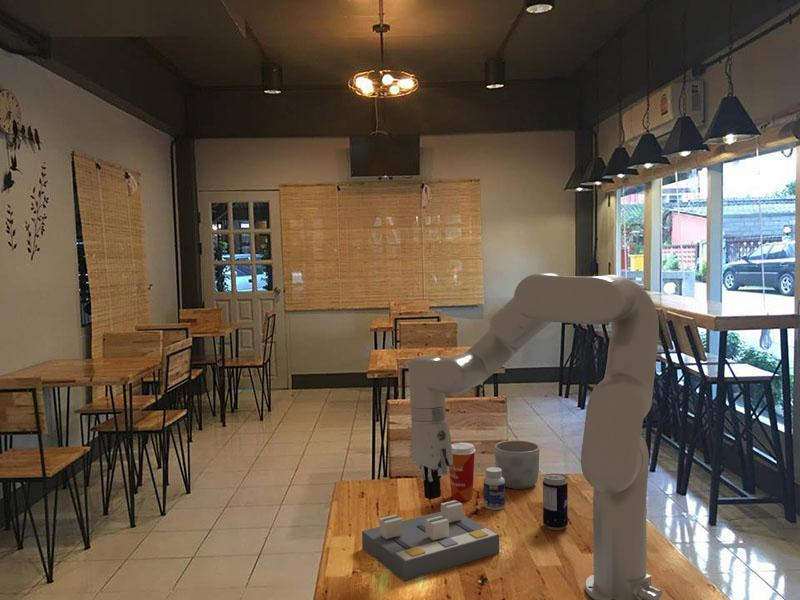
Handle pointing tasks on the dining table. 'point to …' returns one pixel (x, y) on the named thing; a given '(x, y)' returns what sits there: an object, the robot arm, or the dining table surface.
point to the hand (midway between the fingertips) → (432, 497)
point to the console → (430, 547)
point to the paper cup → (462, 471)
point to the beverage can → (555, 501)
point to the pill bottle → (494, 489)
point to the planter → (518, 463)
